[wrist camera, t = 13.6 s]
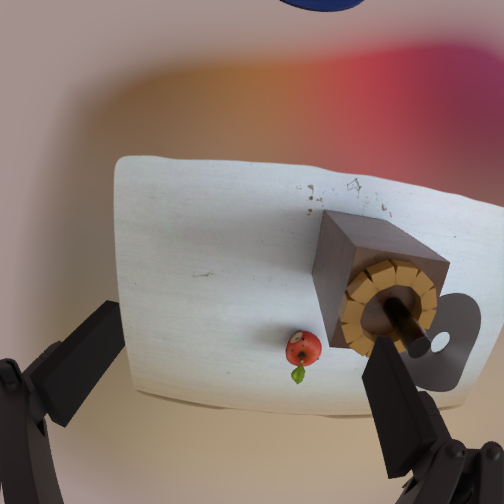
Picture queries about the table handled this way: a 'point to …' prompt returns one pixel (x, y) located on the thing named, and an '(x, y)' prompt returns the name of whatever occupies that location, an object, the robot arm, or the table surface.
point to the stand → (358, 259)
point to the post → (407, 328)
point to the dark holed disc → (457, 350)
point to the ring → (376, 281)
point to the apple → (302, 352)
